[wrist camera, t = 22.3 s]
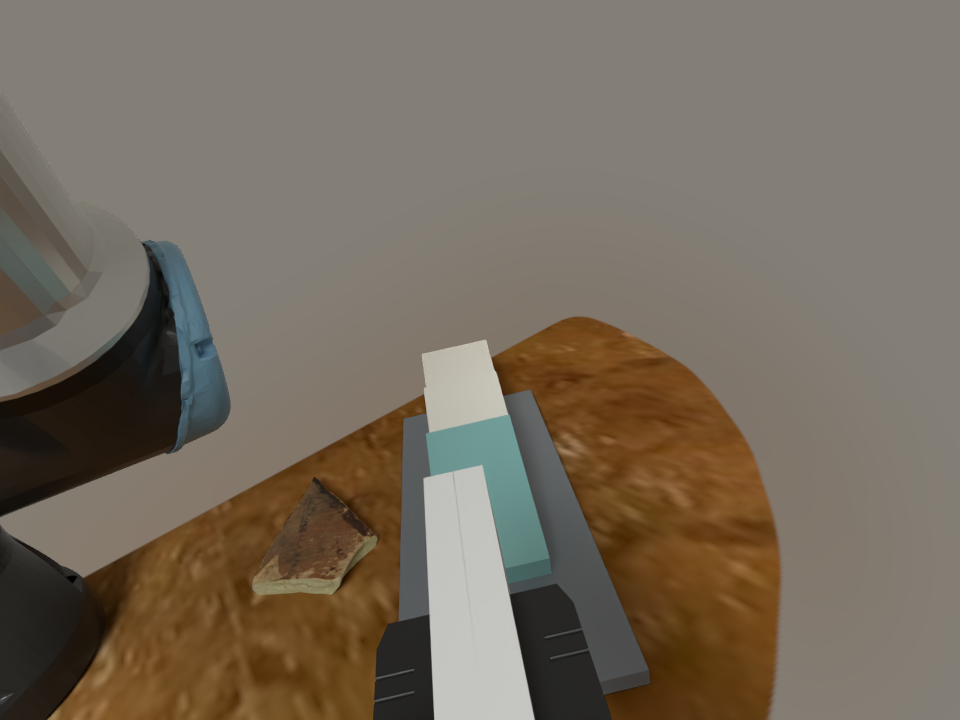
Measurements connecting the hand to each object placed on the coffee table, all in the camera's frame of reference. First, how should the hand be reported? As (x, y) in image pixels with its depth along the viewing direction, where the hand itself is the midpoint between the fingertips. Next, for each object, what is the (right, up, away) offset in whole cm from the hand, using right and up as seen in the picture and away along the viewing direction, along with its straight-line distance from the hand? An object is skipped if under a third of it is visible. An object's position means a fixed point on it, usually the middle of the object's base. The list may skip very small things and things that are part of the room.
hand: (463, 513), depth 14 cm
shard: (-12, -10, +25) cm, 30 cm away
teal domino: (+1, -8, +17) cm, 19 cm away
